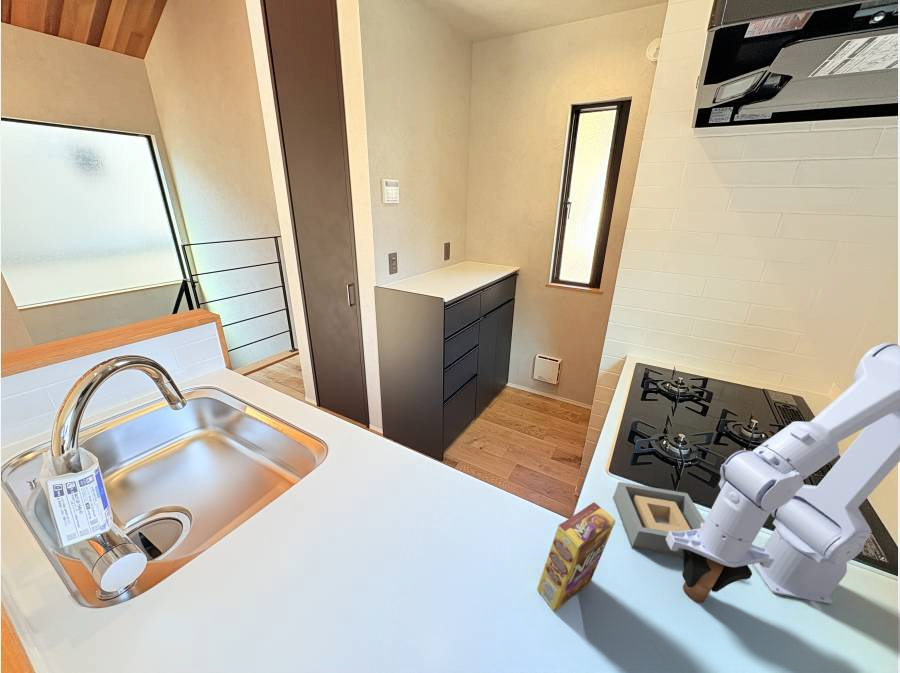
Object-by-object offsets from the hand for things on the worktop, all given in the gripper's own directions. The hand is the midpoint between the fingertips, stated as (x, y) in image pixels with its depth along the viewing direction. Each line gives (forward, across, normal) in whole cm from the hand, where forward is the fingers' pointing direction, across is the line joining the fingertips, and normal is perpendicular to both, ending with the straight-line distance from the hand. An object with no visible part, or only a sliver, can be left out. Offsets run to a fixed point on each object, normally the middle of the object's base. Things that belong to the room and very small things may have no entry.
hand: (699, 583), depth 58 cm
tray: (+2, +1, -12) cm, 13 cm away
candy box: (+3, +22, +4) cm, 22 cm away
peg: (+2, 0, 0) cm, 2 cm away
